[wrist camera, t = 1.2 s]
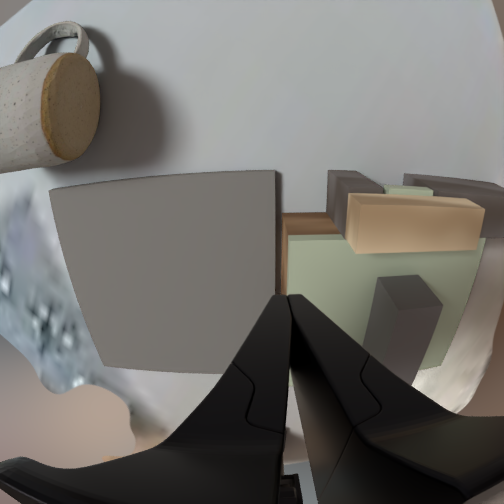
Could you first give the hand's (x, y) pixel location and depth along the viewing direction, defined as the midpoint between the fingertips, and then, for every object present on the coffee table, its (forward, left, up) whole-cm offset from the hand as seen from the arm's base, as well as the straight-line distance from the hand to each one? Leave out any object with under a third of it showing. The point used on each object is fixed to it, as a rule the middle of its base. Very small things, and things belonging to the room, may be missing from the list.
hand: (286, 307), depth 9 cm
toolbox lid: (-6, -8, -9) cm, 13 cm away
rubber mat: (-7, +8, -13) cm, 17 cm away
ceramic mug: (+9, +15, -13) cm, 22 cm away
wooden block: (0, -8, -8) cm, 11 cm away
